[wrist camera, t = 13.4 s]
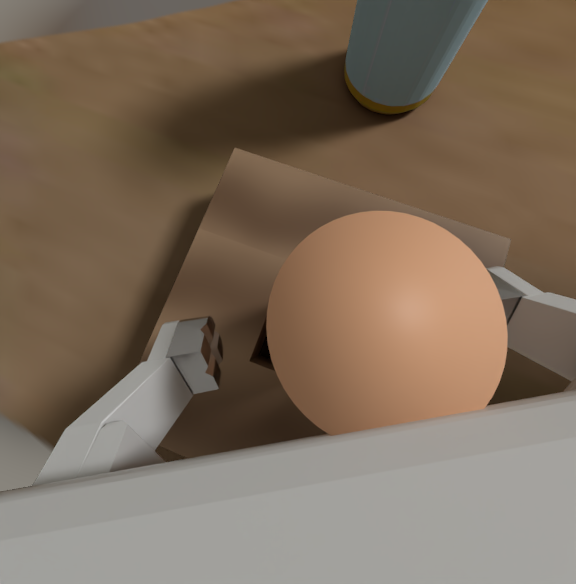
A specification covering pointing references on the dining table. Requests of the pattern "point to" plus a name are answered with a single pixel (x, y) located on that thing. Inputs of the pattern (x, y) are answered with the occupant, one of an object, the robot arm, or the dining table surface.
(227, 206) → the socket block
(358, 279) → the peg
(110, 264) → the dining table surface
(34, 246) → the dining table surface
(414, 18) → the bottle
